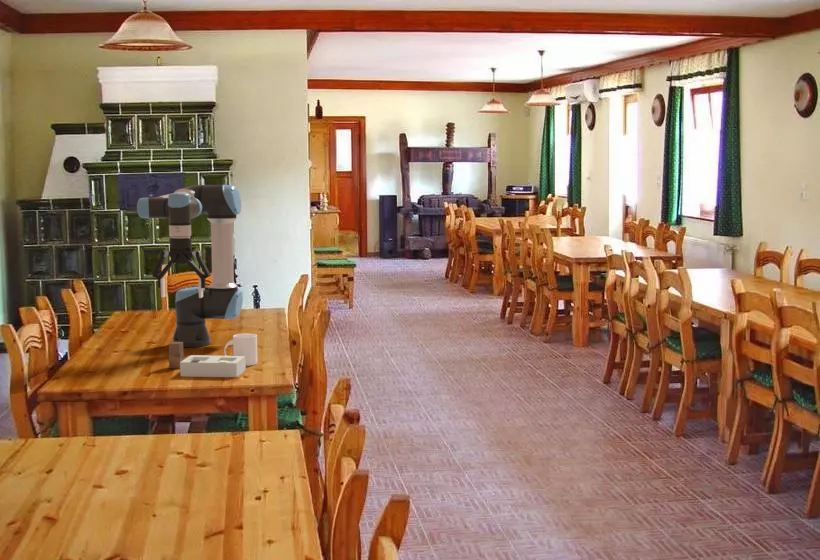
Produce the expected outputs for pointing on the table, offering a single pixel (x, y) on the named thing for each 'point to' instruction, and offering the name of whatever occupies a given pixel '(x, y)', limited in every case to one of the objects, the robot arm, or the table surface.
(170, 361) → the plug
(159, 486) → the table surface
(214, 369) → the socket board
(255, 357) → the mug
